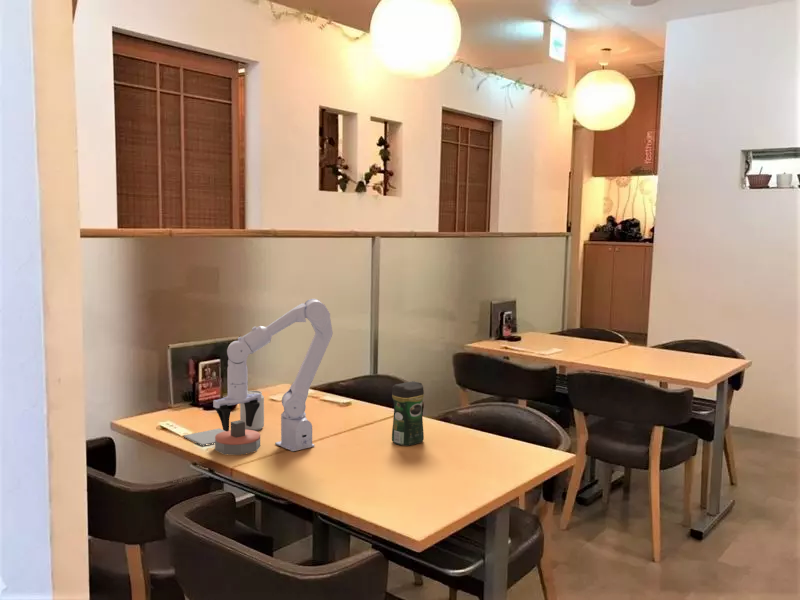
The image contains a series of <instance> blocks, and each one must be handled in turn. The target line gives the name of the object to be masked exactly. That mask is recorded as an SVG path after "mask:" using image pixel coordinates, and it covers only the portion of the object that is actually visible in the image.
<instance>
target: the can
mask: <svg viewBox="0 0 800 600" xmlns="http://www.w3.org/2000/svg"><path fill="white" fill-rule="evenodd" d="M256 393H258V394H261V401H257V402H259V403H260V406H259V408H258V409H257V411H256V414H255V416H254V419H253V423H252V427H249V426H247V425H246V411H245V405H244V403H241V404H239V409H240V410H239V411H240V413H239V415H240V416H239V417H240V421H243V422H245V429H247V430H254V431H257V432H258V431H260V430H262V428H264V426H265V396H264V395H263V394H262V393H263V392H262V391H260V390H248V394H256Z"/></svg>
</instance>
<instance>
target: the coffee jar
mask: <svg viewBox="0 0 800 600" xmlns="http://www.w3.org/2000/svg"><path fill="white" fill-rule="evenodd" d="M424 391H425V390H424V385H423V384H422V383H421V382H418V381H415V380H414V381H413V380H412V381H407V382H402V383H396V384H394V385H393V386H392V394H391V397H392V400H393V418H392V419H393V420H392V429H391V441H392V442H393V443H394V444H395V445H397V446H405V447H408V446H412V445H416V444H419V443H423V442H424V440H425V439H424V438H425V437H424V435H425V434H424V423H423V421H424V420H423V401H424V397H425V392H424Z"/></svg>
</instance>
